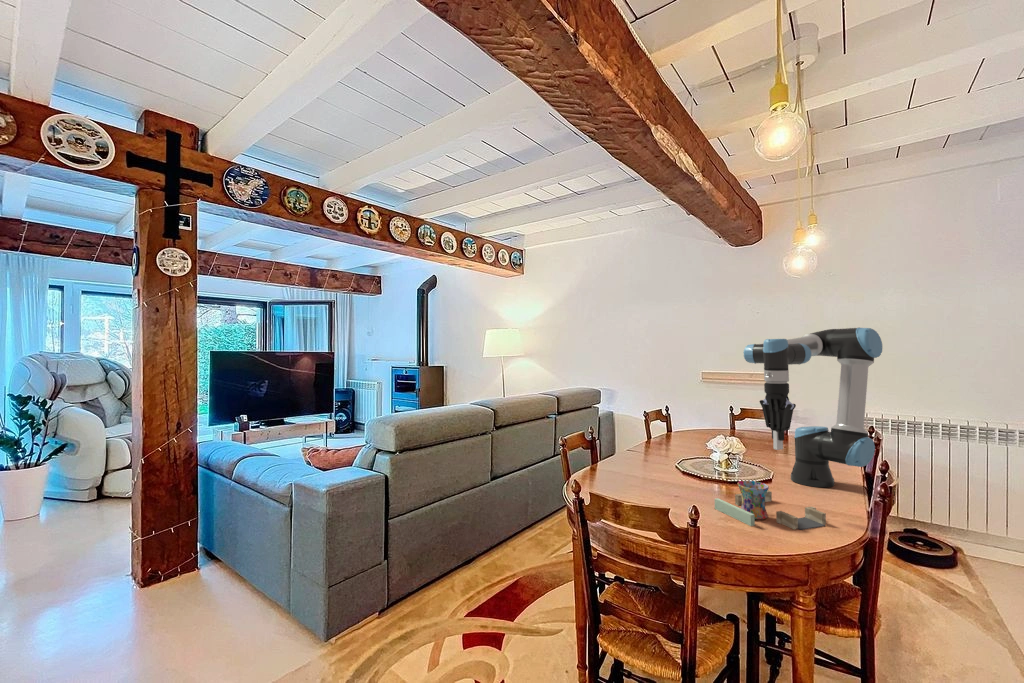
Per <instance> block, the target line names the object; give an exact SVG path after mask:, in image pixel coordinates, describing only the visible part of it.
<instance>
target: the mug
mask: <svg viewBox="0 0 1024 683" xmlns="http://www.w3.org/2000/svg"><path fill="white" fill-rule="evenodd" d="M737 486H738V489H739V492H740V494H741V495H742V505H740V506H741V507H740V508H741V509H743V510H745V511H748V512H750V513H752V514H754V515H755V520H766V519H767V518H769V515H768V512H767V510H766V505H765V504H766V502H765V496H766V493H767V491H769V489H770V487H769V485H768V484H766V483H764V482H760V481H757V480H741V481H738V482H737Z"/></svg>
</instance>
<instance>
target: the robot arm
mask: <svg viewBox="0 0 1024 683" xmlns="http://www.w3.org/2000/svg"><path fill="white" fill-rule="evenodd" d="M882 352H883V341H882V338H881V337H880V334H879V333H878V331H876V330H875V329H873V328H870V327H849V328H848V327H847V328H831V329H830V328H829V329H824V330H823V329H822V330H820V331H819V330H818V331H814V332H811V333H805V334H803V335H802V336H801V337H794V338H790V339H787V338H767V339H764V340H763V343H753V344H751V343H750V344H747V345H746V346H745V347H744V348H743V359H744V360H745V361H746V362H747V363H749V364H755V365H756V364H763V377H764V378H763V379H764V388H763V389H764V393H765V397H764V398H763V399H760V400H759V404H760V406H761V408H762V414H763V417H764V421H765V426H766V428H769V429H770V430H771V439H772V442H773V445H772V446H773V450H776V451H777V450H778V451H779V450H784V441H785V431H789V430H790V429H791V422H792V419H793V414H794V410H795V408H796V404H795V403H792V402H791V401H790V398H789V394H790V384H789V383H788V382H789V381H790V377H789V376H790V374H789V370H790V369H789V366H790V365H798V366H799V365H803V364H806V363H807V362H809V361H810V360H811V358H812V357H817V356H818V357H820V356H822V357H832V358H833V357H834V358H836V361H837V362H838V363H839V364H840V376H839V388H838V398H837V399H838V400H837V411H836V412H837V413H836V422H835V424H834V425H833V426H831V428H830V430H829V427H827V426H819V425H818V426H801V427H800V426H799V427H797V428H796V429H795V430H794V454H795V455H794V457H795V458H794V459H795V461H794V465H793V467H792V470H791V472H790V480H791V481H792V482H793V483H796V484H799V485H803V486H807V487H815V488H831V487H834V486H835V478H834V477H833V474H832V470H831V468H830V463H829V462H832V463H838V464H842V465H847V466H849V467H858V468H862V467H865V466H867V465H869V464H870V462H871V461H872V459H873V457H874V455H875V450H876V446H875V442H874V440H873V439H872V438H870V437H869V431H867V430H866V429H865V418H866V400H867V390H868V376H869V374H868V373H869V367H870V366H872V365H873V364H874V363H875V358H879V357H880V356H882Z"/></svg>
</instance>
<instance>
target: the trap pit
mask: <svg viewBox="0 0 1024 683" xmlns="http://www.w3.org/2000/svg"><path fill="white" fill-rule="evenodd" d="M797 518H798V529H797V530H800V531H803V530H804V531H805V530H809V529H810V530H811V529H816V528H822V527H826V525H823V524H821V523H818V522H816V521H813V520H811V519H808V518H806V517H805V516H804V517H797Z"/></svg>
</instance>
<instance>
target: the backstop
mask: <svg viewBox="0 0 1024 683" xmlns="http://www.w3.org/2000/svg"><path fill="white" fill-rule="evenodd" d="M714 509H715V510H717V511H718V512H721V513H723V514H725V515H727V516H729V517H732V518H733V519H735V520H737V521H739V522H742V523H744V524H745V525H747V526H749V527H754V526H756V524H755V523H756V522H755V520H756V519H755V515H754V514H752V513H750V512H748V511H745V510H743V509H741V507H738V506H736V505H734V504H731V503H730V502H728V501H725V500H723V499H720V498H718V497H717V498H714Z"/></svg>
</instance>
